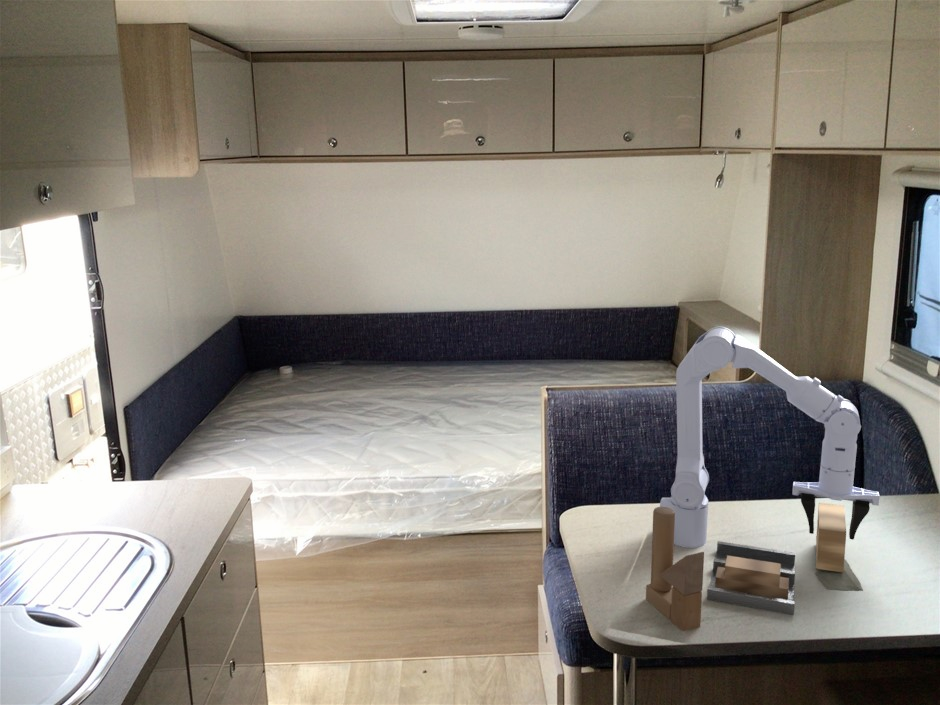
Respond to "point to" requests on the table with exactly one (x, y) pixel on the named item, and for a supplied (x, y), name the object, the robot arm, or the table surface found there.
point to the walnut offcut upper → (752, 571)
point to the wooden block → (674, 575)
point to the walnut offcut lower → (752, 586)
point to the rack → (746, 598)
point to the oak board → (830, 537)
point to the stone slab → (839, 579)
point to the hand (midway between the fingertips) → (831, 534)
